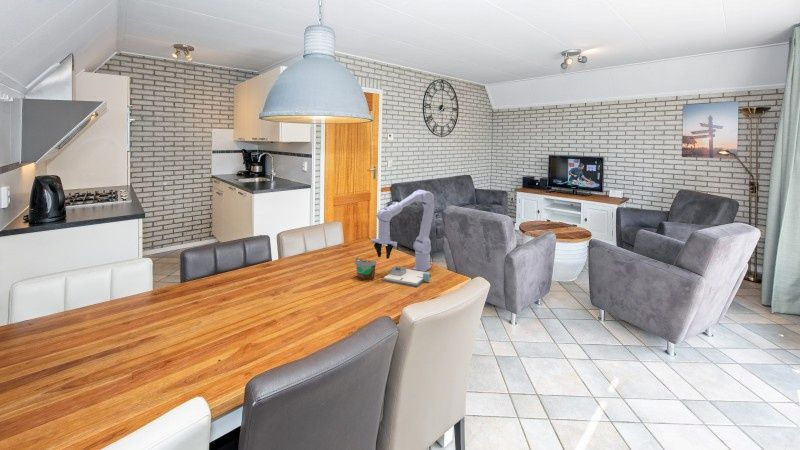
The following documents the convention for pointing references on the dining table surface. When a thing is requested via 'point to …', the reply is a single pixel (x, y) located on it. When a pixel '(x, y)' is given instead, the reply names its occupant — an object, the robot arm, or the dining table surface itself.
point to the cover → (397, 271)
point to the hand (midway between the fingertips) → (383, 257)
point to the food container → (365, 269)
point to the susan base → (404, 283)
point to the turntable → (410, 277)
